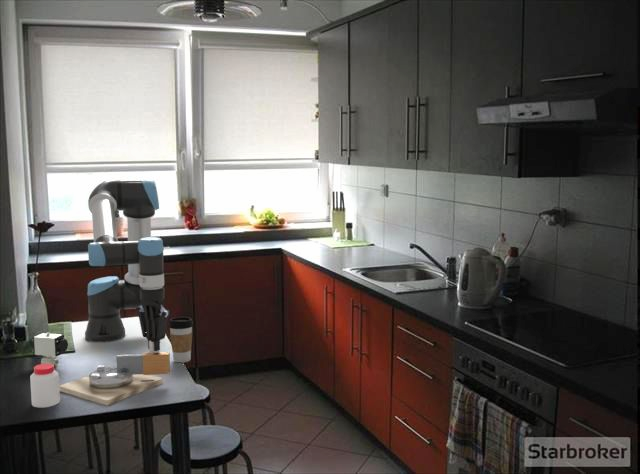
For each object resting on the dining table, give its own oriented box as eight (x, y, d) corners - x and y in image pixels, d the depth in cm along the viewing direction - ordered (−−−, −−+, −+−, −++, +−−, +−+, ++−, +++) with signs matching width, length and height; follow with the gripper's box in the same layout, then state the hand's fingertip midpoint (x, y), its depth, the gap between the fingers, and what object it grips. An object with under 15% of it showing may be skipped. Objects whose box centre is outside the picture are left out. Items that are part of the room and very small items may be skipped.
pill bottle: (59, 406, 191) (57, 369, 190) (30, 409, 189) (27, 371, 188) (61, 396, 199) (59, 361, 197) (33, 399, 197) (31, 363, 195)
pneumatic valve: (61, 370, 222) (59, 335, 220) (30, 367, 224) (28, 333, 223) (70, 364, 227) (69, 331, 226) (40, 362, 230) (38, 329, 228)
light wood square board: (115, 370, 222) (115, 365, 222) (162, 382, 210) (162, 377, 210) (58, 390, 203) (58, 385, 203) (107, 405, 192) (106, 399, 192)
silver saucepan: (84, 389, 199) (83, 362, 198) (94, 374, 212) (93, 349, 211) (167, 386, 202) (166, 360, 201) (172, 372, 215) (171, 347, 214)
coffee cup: (164, 362, 230) (163, 320, 228) (178, 355, 238) (177, 314, 236) (185, 365, 227) (184, 322, 225) (198, 357, 235) (197, 316, 233)
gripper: (128, 286, 207) (131, 359, 210) (158, 291, 200) (160, 367, 203) (146, 282, 213) (148, 353, 217) (175, 287, 206) (177, 360, 210)
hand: (154, 359), depth 210 cm, fingers closed
